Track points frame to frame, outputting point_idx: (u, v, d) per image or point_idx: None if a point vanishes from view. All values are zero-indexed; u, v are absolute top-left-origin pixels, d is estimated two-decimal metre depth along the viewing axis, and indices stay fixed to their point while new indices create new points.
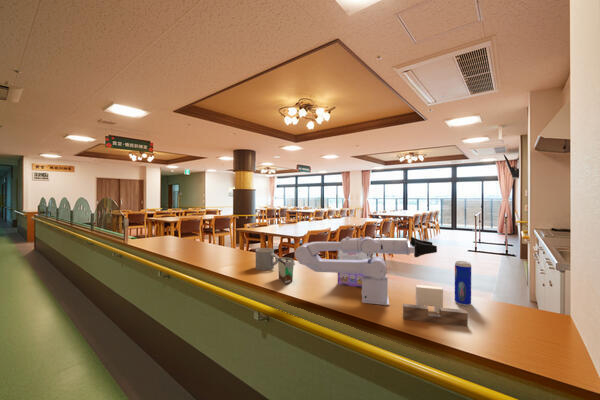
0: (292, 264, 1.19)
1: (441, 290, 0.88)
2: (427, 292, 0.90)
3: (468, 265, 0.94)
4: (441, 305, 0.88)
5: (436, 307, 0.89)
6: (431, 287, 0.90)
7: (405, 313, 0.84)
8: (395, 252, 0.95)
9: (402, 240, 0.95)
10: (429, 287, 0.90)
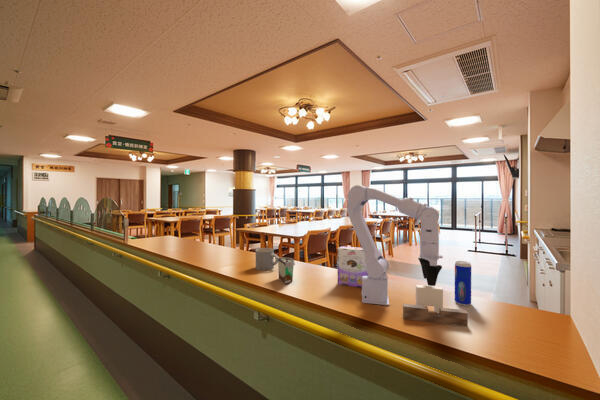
0: (292, 264, 1.19)
1: (441, 290, 0.88)
2: (427, 292, 0.90)
3: (468, 265, 0.94)
4: (441, 305, 0.88)
5: (436, 307, 0.89)
6: (431, 287, 0.90)
7: (405, 313, 0.84)
8: (423, 244, 0.89)
9: (437, 252, 0.88)
10: (429, 287, 0.90)
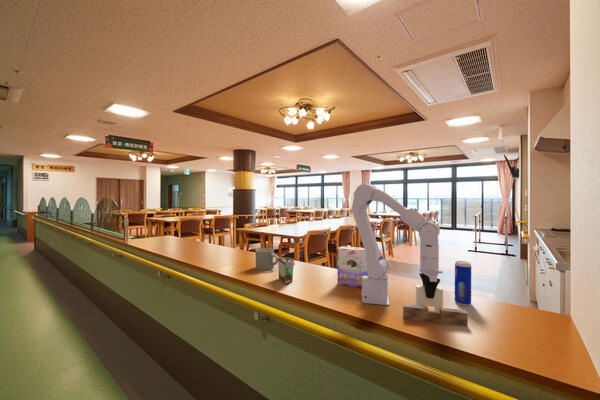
0: (292, 264, 1.19)
1: (441, 290, 0.88)
2: None
3: (468, 265, 0.94)
4: (441, 305, 0.88)
5: (436, 307, 0.89)
6: None
7: (405, 313, 0.84)
8: (423, 259, 0.89)
9: (437, 267, 0.88)
10: None
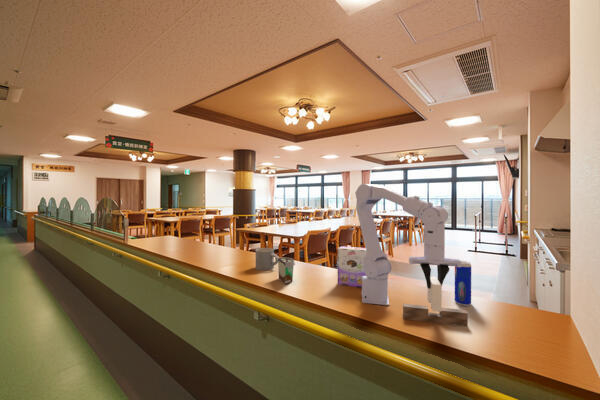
0: (292, 264, 1.19)
1: (432, 285, 0.79)
2: None
3: (468, 265, 0.94)
4: (432, 301, 0.79)
5: (431, 302, 0.81)
6: (434, 281, 0.82)
7: (405, 313, 0.84)
8: None
9: (430, 255, 0.81)
10: (433, 280, 0.82)
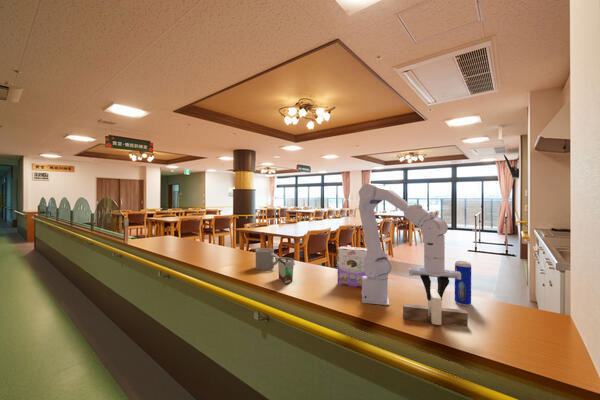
0: (292, 264, 1.19)
1: (432, 298, 0.79)
2: None
3: (468, 265, 0.94)
4: (432, 315, 0.80)
5: (431, 315, 0.81)
6: (434, 294, 0.82)
7: (405, 313, 0.84)
8: None
9: (430, 267, 0.81)
10: (433, 293, 0.82)
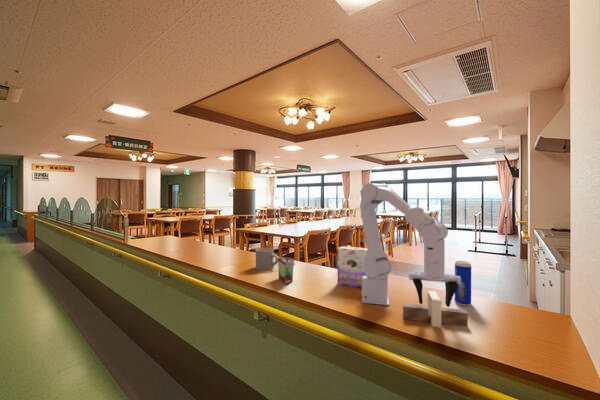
0: (292, 264, 1.19)
1: (432, 300, 0.80)
2: (429, 299, 0.84)
3: (468, 265, 0.94)
4: (432, 317, 0.80)
5: (431, 318, 0.81)
6: (434, 296, 0.82)
7: (405, 313, 0.84)
8: None
9: (430, 271, 0.81)
10: (433, 295, 0.83)
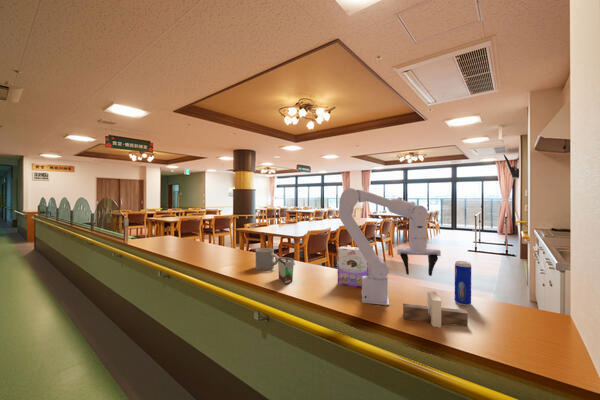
0: (292, 264, 1.19)
1: (432, 300, 0.80)
2: (429, 299, 0.84)
3: (468, 265, 0.94)
4: (432, 317, 0.80)
5: (431, 318, 0.81)
6: (434, 296, 0.82)
7: (405, 313, 0.84)
8: None
9: (414, 246, 0.95)
10: (433, 295, 0.83)
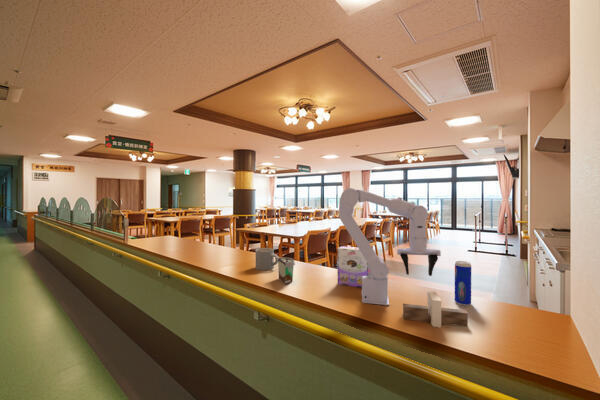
0: (292, 264, 1.19)
1: (432, 300, 0.80)
2: (429, 299, 0.84)
3: (468, 265, 0.94)
4: (432, 317, 0.80)
5: (431, 318, 0.81)
6: (434, 296, 0.82)
7: (405, 313, 0.84)
8: None
9: (414, 246, 0.95)
10: (433, 295, 0.83)
